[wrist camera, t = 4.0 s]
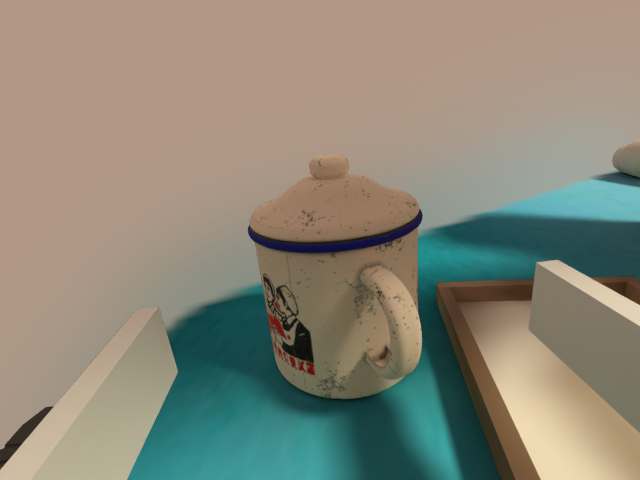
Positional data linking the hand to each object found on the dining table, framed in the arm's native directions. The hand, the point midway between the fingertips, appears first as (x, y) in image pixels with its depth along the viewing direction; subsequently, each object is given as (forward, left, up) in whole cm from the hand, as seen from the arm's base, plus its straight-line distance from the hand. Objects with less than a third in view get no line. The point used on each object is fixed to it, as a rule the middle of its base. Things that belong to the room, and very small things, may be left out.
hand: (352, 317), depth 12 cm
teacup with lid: (+1, -6, -7) cm, 9 cm away
